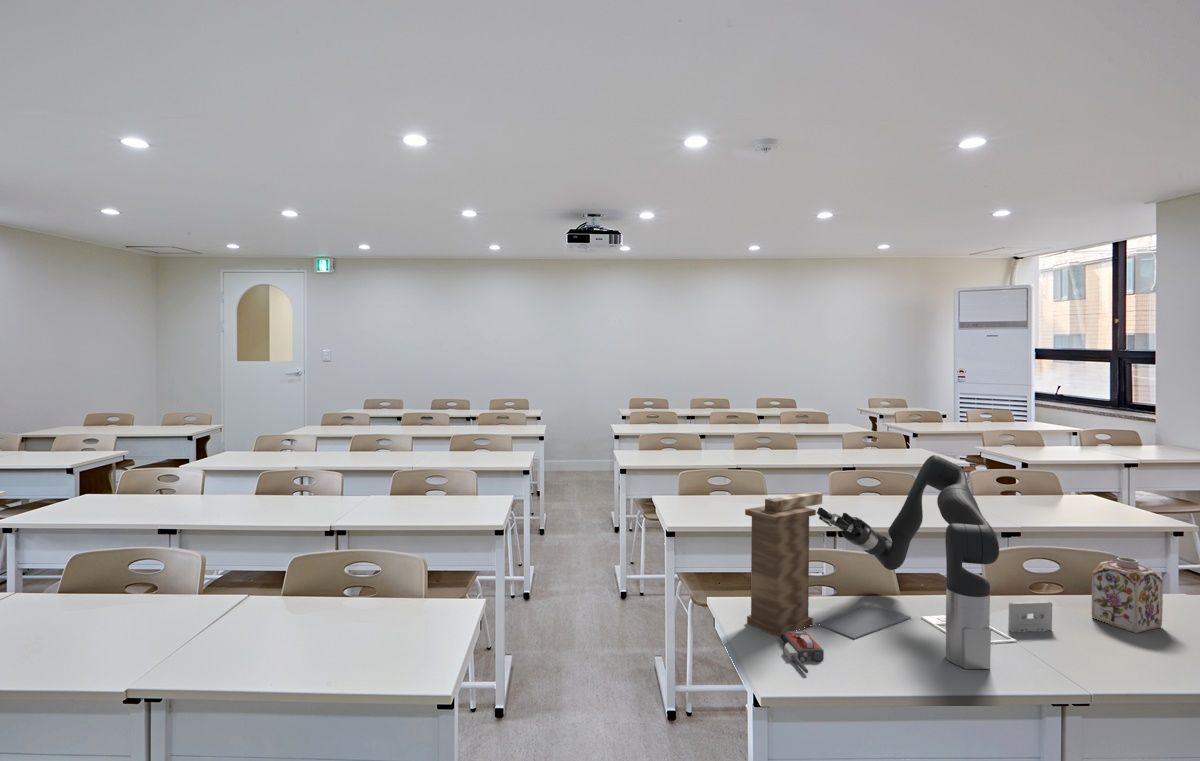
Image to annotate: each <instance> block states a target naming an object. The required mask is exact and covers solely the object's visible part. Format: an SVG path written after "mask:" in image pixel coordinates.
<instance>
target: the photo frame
mask: <svg viewBox="0 0 1200 761" xmlns="http://www.w3.org/2000/svg"><path fill="white" fill-rule="evenodd" d="M921 618H922V619H921ZM920 619H921V620H923V621H924V622H926V623H928V624H929V625H931V626H933V627H934V628H936V629H938V630H940V631H941V632H943V633H944V634H946V628H945V629H944V628H943V627H941V626H946V614H944V615H943V614H941V615H927V616H923V615H922V616H920ZM989 629H990V630H991V631H993V632H994V633H996V634H999V635H1000V636H1002V637H1003V636H1004V638H1005V637H1006V638H1005V639H998V640H996V639H995V640H991V645H994V644H995V643H997V644H1007V643H1006V642H1014V643H1017V639H1015V638H1013V637H1011V636H1010V635H1008V634H1006V633H1004V632H1002V631H1000V630H999V629H997V628H995V627H993V626H991V625H989ZM995 645H996V644H995Z"/></svg>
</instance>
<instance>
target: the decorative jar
mask: <svg viewBox="0 0 1200 761" xmlns="http://www.w3.org/2000/svg"><path fill="white" fill-rule="evenodd" d="M1091 576H1092V577H1091V619H1092V618H1094V619H1093V620H1095V619H1097V620H1096V621H1098V620H1099V622H1101V621H1102V623H1104V622H1105V623H1104V624H1107V623H1108V624H1107V625H1110V626H1114V627H1116V628H1119V629H1121V630H1125V631H1127V632H1131V633H1134V634H1138V633H1142V632H1143V633H1144V632H1147V631H1151V630H1155V629H1160V628H1161V627H1162V625H1163V603H1164V601H1163V600H1164V598H1163V579H1162V578H1161V576H1159V574H1158V573H1157V572H1155V571H1154V570H1153V569H1152V568H1150V567H1148V566H1144V565H1140V564H1139V560H1137V559H1136V558H1133V557H1132V558H1131V557H1125V556H1124V557H1123V556H1122V557H1117V558H1116V560H1107V561H1106V560H1105V561H1101V562H1099V564H1098V566H1097V567H1095V569H1094V570H1093V571H1092V575H1091Z"/></svg>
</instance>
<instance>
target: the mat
mask: <svg viewBox="0 0 1200 761" xmlns="http://www.w3.org/2000/svg"><path fill="white" fill-rule="evenodd" d="M910 619H911V616H909V615H906V614H903V613H900V612H897V611H895V610H892V609H888V608H886V607H883V606H881V605H877V604H874V603H871V604H869V605H865V606H861V607H860V608H856V609H853V610H850V611H848V612H847V611H846V612H845V613H841V614H838V615H835V616H833V617H829V618H827V619H823V620H821V621H818V622H816V623H817V624H820V625H821V626H820V627H822V626H823V627H822V628H824V627H825V628H824V629H827V628H828V629H827V630H829V629H830V630H829V631H832V630H833V631H832V632H834V631H835V633H836V634H839V633H840V634H839V635H841V634H842V636H844V637H847V638H850V639H852V640H857V639H859V638H862V637H864V636H867V635H870V634H873V633H875V632H878V631H881V630H883V629H886V628H888V627H891V626H893V625H894V626H895V625H897V624H900V623H902V622H905V621H908V620H910ZM817 624H816V625H817Z"/></svg>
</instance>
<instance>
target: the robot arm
mask: <svg viewBox="0 0 1200 761" xmlns="http://www.w3.org/2000/svg"><path fill="white" fill-rule="evenodd" d="M920 467H921V468H920V469H919V471H918V472H917V476H916V477H915V480H914V482H913V483H912V486H911V487H910V490H909V493H908V494H907V497H906V499H905V501H904V503H903V505H902V507H901V509H900V511H899V513H898V514H897V516H896V517H895V518H894V520H893V522H891V525H890V526H889V528H888V529H887V530H888V531H887V532H888V535H889V537H890V539H889V538H888V537H886V536H884V535H883V534H880V533H879V532H878V531H876V530H875V529H874V528H873V527H872V526H871V525H870V524H868V523H866V521H864V520H862V519H861V518H860V517H857V516H851V515H850V514H848V513H847V512H843V513H842V515H840V514H837V513H830V512H828V511H827V510H826V509H824V508H823V507H818V508H817V510H816V515H818V516H819V517H818V519H819V520H820V521H822V522H823V523H824V524H826V525H828V526H829V527H835V528H837V529H838V530H840V531H841V535H842V537H843V538H844V539H845V540H847V541H848V542H850V543H851V544H852V545H854V546H856V547H857V548H858V549H860V550H863V551H864V552H866V553H867V554H869V555H872V556H874V557H875V558H876V559H877V560H878V561H879V563H880V564H881V565H882V566H883V567H884V568H885V569H887V570H888V571H894V570H897V569H899V568H901V566H902V565H903V564H904V562H905V560H906V557H907V554H908V551H909V548H910V545H911V541H912V540H913V538H914V536H915V535H916V534H917V532H918V531H919V529H920V527H921V525H922V523H923V518H924V517H923V515H924V513H923V511H924V510H923V494H924V492H925V489H926V487H927V486H930V487H932V488H934V489H936V490H938V491H940V492H938V493H939V494H938V496H937V499H936V500H937V501H936V504H937V507H938V510H939V513H940V516H941V517H942V519H943V520H944V521H945V523H947V524H948V525H947V527H946V529H945V557H946V570H945V571H946V587H945V588H946V589H945V590H946V591H945V592H946V593H945V596H946V597H945V615H946V625H945V630H946V633H945V658H946V660H947V661H948V662H951V663H952V664H954V665H956V666H959V667H961V668H963V669H966V670H969V669H970V670H990V669H991V655H992V654H991V650H992V649H991V646H992V644H991V641H992V640H991V639H992V637H991V636H992V633H991V632H992V630H991V629H989V626H990V619H991V618H990V613H991V612H990V610H991V607H990V606H991V601H990V600H991V584H990V582H989V580H987V579H985V577H982V576H981V575H978V574H975V573H973V572H970V571H969V570H967V569H965V567H964V566H963V563H964V564H974V565H975V564H976V565H991V564H992V565H993V563H995V562H996V561H998V558H999V556H1000V544H999V540H998V537H997V534H996V533H995V530H994V529H993V527H992V525H991V524H989V522H988V520H987V519H986V518H985V517H984V516H983V514H982V512H981V509H980V508H979V505H978V503H977V500H976V499H975V497H974V495H973V493H972V491H971V489H970V486H969V484H968V480H967V474H966V472H965V470H964V469H963V467H961V466H960V465H958V464H956V463H954V462H952V461H949V460H948V459H946V458H944V457H941V456H939V455H936V454H933V455H930V456H929V457H928V458H927V459H926V460H925V461H924V463H923V464H922V466H920ZM835 518H836V520H835Z"/></svg>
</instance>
